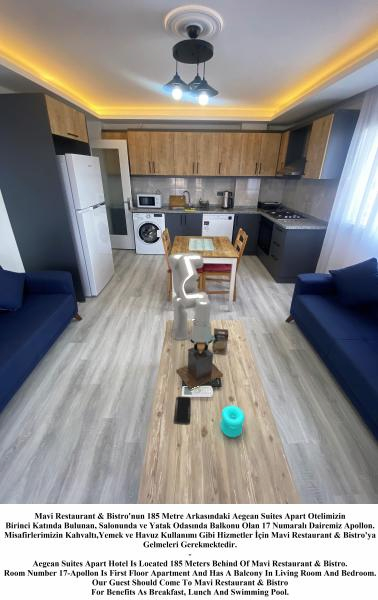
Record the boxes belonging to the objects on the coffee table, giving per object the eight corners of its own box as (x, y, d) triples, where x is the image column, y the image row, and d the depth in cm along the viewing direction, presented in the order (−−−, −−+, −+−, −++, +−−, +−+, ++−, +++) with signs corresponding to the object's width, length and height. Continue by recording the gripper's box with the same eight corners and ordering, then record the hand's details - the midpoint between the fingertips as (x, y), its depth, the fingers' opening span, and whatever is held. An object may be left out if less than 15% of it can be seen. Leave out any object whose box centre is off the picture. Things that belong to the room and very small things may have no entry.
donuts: (221, 421, 103) (222, 402, 112) (219, 436, 108) (220, 417, 116) (245, 425, 102) (244, 406, 110) (242, 440, 106) (241, 420, 115)
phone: (173, 422, 112) (176, 396, 126) (173, 424, 113) (176, 397, 126) (190, 423, 112) (191, 397, 125) (190, 425, 113) (191, 398, 126)
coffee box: (212, 354, 157) (213, 333, 150) (212, 348, 163) (213, 328, 155) (226, 355, 156) (228, 335, 149) (225, 349, 162) (228, 329, 155)
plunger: (190, 369, 142) (190, 340, 132) (201, 365, 145) (203, 336, 136) (197, 378, 136) (198, 348, 126) (209, 373, 139) (211, 344, 129)
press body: (176, 371, 142) (176, 349, 135) (207, 359, 152) (209, 338, 145) (189, 390, 130) (190, 367, 123) (222, 376, 140) (225, 353, 132)
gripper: (185, 325, 121) (185, 353, 130) (219, 325, 121) (216, 354, 130) (185, 317, 128) (185, 344, 136) (218, 317, 128) (215, 345, 136)
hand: (200, 349), depth 133 cm, fingers closed on plunger, 5 cm apart
